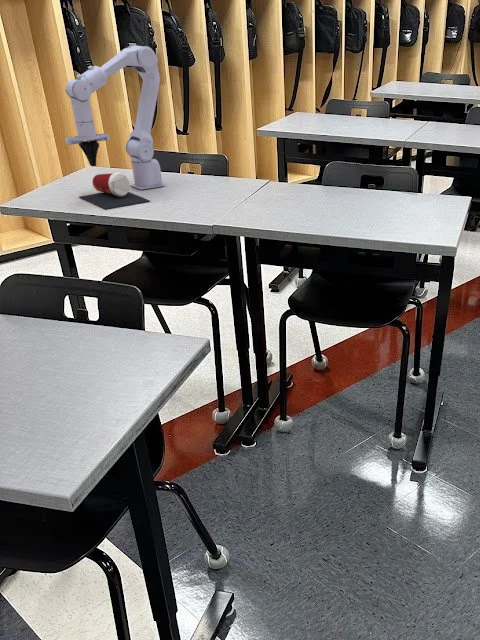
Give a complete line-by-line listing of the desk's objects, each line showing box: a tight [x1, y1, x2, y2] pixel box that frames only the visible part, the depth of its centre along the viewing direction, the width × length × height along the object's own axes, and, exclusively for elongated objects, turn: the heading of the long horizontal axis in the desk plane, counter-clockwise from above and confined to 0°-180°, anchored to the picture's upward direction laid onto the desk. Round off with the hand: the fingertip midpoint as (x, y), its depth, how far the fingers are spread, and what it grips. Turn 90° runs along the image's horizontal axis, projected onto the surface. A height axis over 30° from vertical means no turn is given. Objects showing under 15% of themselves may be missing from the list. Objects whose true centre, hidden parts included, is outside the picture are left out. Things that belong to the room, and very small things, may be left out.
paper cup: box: [92, 171, 131, 197], centre depth 226 cm, size 8×8×14 cm
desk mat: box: [79, 191, 151, 210], centre depth 224 cm, size 16×20×1 cm
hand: (93, 165), depth 224 cm, fingers closed
